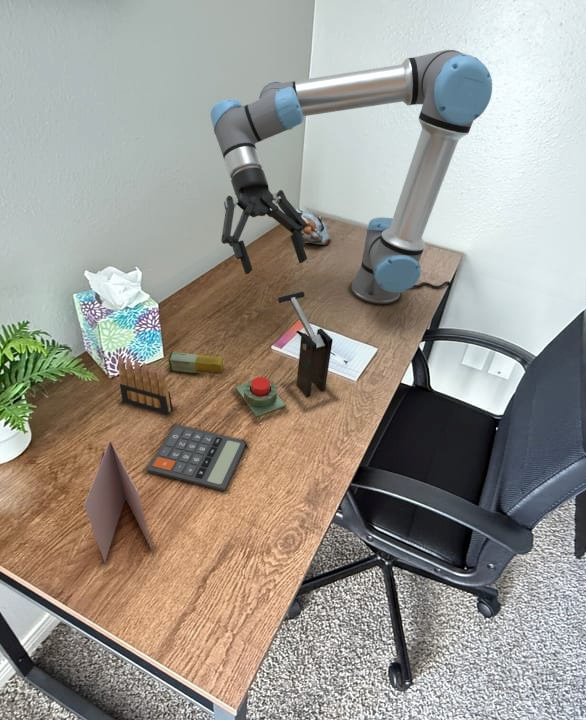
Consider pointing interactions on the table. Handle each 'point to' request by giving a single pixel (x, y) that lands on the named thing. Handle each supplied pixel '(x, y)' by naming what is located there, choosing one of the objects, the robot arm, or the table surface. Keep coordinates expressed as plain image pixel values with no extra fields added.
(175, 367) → the medication box
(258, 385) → the button
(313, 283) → the table surface
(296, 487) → the table surface
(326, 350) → the bracket
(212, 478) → the calculator
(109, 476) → the greeting card
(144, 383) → the ammunition clip
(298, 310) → the lever
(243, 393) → the button block
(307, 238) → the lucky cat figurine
